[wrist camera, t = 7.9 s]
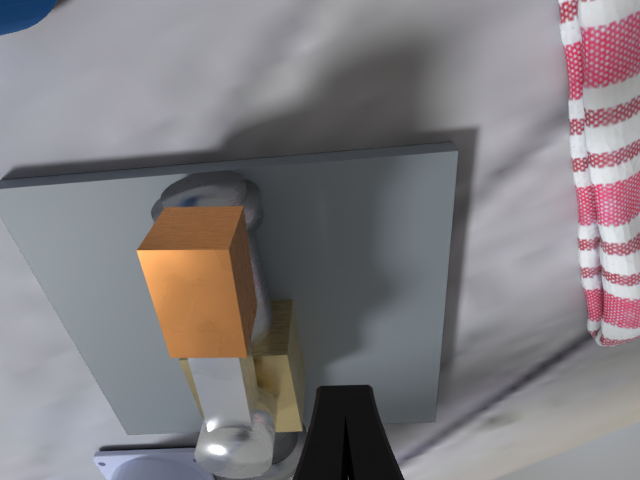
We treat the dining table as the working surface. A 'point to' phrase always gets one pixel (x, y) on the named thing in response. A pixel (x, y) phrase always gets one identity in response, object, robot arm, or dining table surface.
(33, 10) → the beverage can
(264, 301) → the valve pipe
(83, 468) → the dining table surface
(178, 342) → the valve lever
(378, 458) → the robot arm
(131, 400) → the base board
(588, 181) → the dish towel
